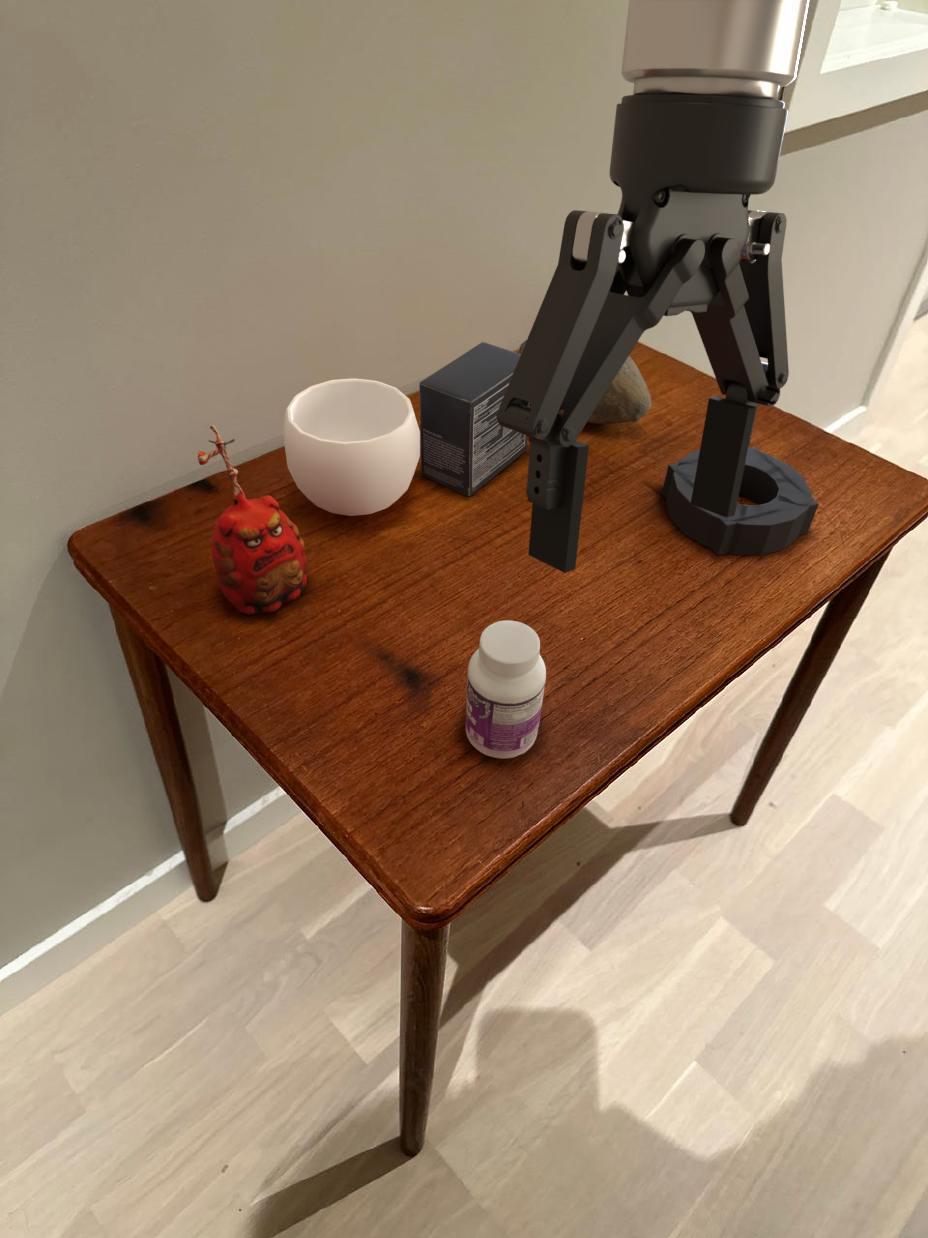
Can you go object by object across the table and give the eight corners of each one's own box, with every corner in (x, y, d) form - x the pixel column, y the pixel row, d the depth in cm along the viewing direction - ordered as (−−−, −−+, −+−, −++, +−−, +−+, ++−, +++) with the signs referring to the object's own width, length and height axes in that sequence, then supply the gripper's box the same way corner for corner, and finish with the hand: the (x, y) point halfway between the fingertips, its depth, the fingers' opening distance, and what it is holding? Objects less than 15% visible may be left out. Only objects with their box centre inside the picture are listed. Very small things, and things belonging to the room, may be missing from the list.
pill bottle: (456, 711, 65) (460, 618, 58) (524, 698, 66) (535, 606, 59) (475, 768, 61) (481, 676, 54) (547, 754, 62) (561, 662, 55)
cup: (439, 521, 81) (440, 431, 74) (311, 551, 78) (300, 459, 71) (395, 452, 89) (392, 365, 83) (277, 476, 86) (264, 387, 79)
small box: (477, 429, 93) (482, 337, 86) (528, 451, 90) (537, 357, 83) (416, 474, 87) (415, 378, 79) (469, 498, 84) (473, 402, 77)
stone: (665, 419, 95) (680, 352, 90) (624, 453, 90) (637, 384, 85) (539, 369, 103) (545, 304, 97) (494, 398, 98) (498, 331, 92)
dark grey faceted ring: (827, 538, 81) (839, 508, 79) (713, 567, 78) (722, 537, 75) (749, 466, 89) (758, 437, 87) (643, 489, 86) (649, 459, 83)
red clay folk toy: (253, 632, 70) (223, 478, 60) (201, 591, 73) (164, 438, 63) (325, 587, 74) (309, 436, 64) (273, 550, 77) (249, 400, 67)
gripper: (786, 110, 48) (717, 475, 58) (428, 70, 34) (419, 562, 44) (918, 109, 43) (818, 509, 53) (564, 62, 29) (519, 620, 39)
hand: (638, 534), depth 49 cm, fingers open, 13 cm apart
